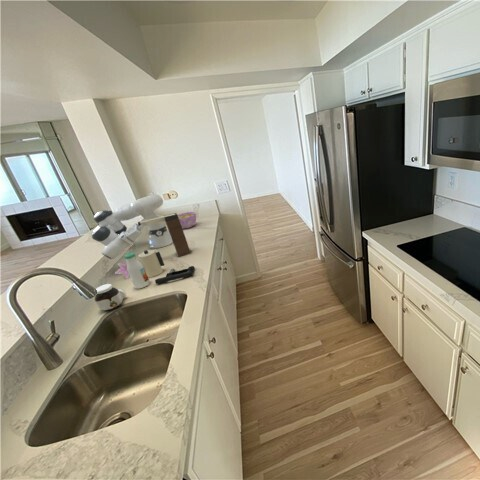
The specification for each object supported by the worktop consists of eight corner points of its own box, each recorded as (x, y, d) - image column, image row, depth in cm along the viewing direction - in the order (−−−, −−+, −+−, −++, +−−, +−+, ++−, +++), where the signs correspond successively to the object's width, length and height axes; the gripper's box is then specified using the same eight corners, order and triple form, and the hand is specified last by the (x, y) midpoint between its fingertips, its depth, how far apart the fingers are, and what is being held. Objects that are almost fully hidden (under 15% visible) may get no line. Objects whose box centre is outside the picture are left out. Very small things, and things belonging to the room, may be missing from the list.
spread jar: (100, 314, 130) (89, 295, 125) (101, 304, 138) (91, 285, 134) (129, 304, 136) (119, 284, 131) (128, 294, 144) (119, 276, 140)
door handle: (160, 270, 163) (153, 281, 148) (194, 262, 168) (191, 272, 153) (162, 275, 164) (155, 286, 149) (196, 267, 169) (193, 277, 154)
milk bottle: (143, 289, 148) (129, 257, 140) (131, 288, 150) (117, 257, 142) (153, 281, 155) (140, 251, 147) (142, 281, 157) (129, 251, 149)
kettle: (142, 280, 158) (132, 257, 152) (141, 274, 166) (131, 252, 159) (166, 272, 165) (158, 249, 159) (165, 267, 172) (156, 245, 166)
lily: (115, 282, 162) (113, 272, 156) (118, 268, 170) (117, 257, 164) (138, 281, 168) (137, 271, 162) (141, 267, 175) (140, 257, 170)
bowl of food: (176, 232, 236) (172, 220, 231) (176, 227, 252) (172, 215, 248) (200, 226, 244) (196, 215, 240) (198, 221, 261) (194, 210, 256)
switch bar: (139, 226, 172) (137, 221, 171) (176, 217, 183) (174, 213, 182) (139, 227, 170) (137, 223, 169) (176, 218, 181) (175, 214, 180)
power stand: (176, 252, 193) (163, 215, 181) (188, 249, 197) (175, 212, 185) (178, 257, 185) (164, 218, 174) (190, 253, 189) (177, 215, 178)
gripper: (131, 237, 179) (147, 222, 182) (131, 245, 163) (149, 229, 166) (122, 230, 175) (139, 216, 178) (122, 239, 159) (140, 222, 162)
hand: (144, 222), depth 172 cm, fingers closed on switch bar, 3 cm apart
